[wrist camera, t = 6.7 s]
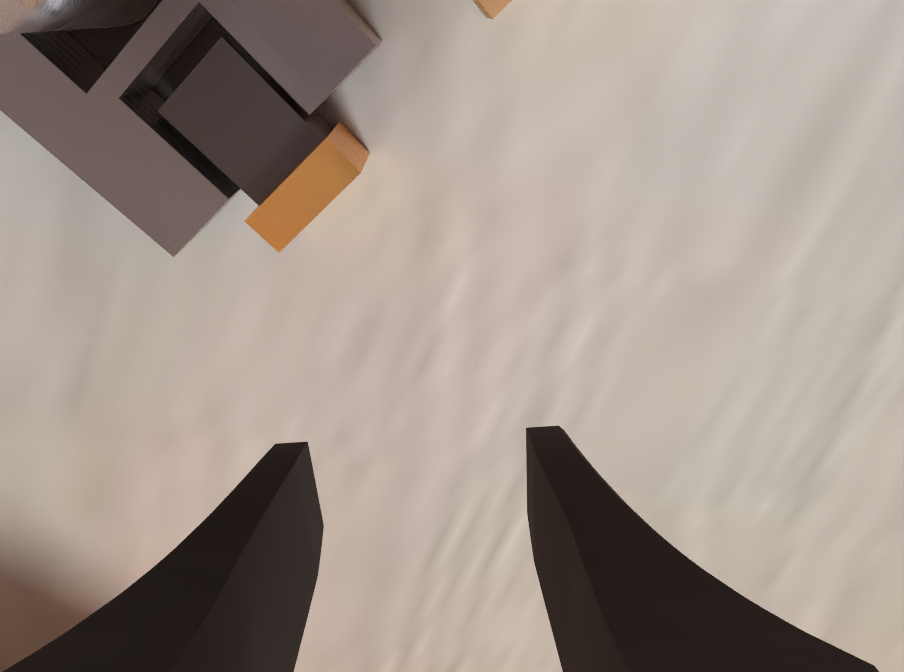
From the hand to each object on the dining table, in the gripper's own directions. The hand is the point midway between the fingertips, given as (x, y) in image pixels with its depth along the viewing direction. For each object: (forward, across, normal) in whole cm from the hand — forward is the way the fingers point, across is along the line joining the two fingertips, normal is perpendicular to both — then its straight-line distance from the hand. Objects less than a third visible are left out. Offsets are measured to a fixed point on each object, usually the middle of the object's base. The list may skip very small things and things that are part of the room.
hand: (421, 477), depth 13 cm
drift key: (+10, +4, -5) cm, 12 cm away
